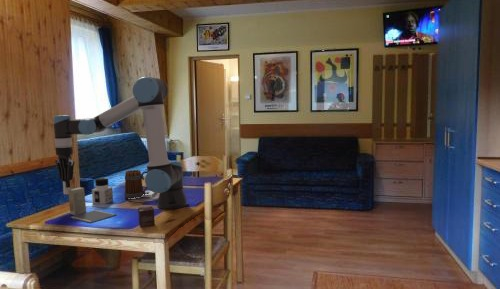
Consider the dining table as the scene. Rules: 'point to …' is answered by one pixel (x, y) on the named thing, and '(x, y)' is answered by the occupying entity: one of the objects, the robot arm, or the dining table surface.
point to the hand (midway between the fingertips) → (67, 193)
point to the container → (102, 192)
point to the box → (146, 216)
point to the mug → (134, 184)
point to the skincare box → (77, 201)
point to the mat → (93, 216)
